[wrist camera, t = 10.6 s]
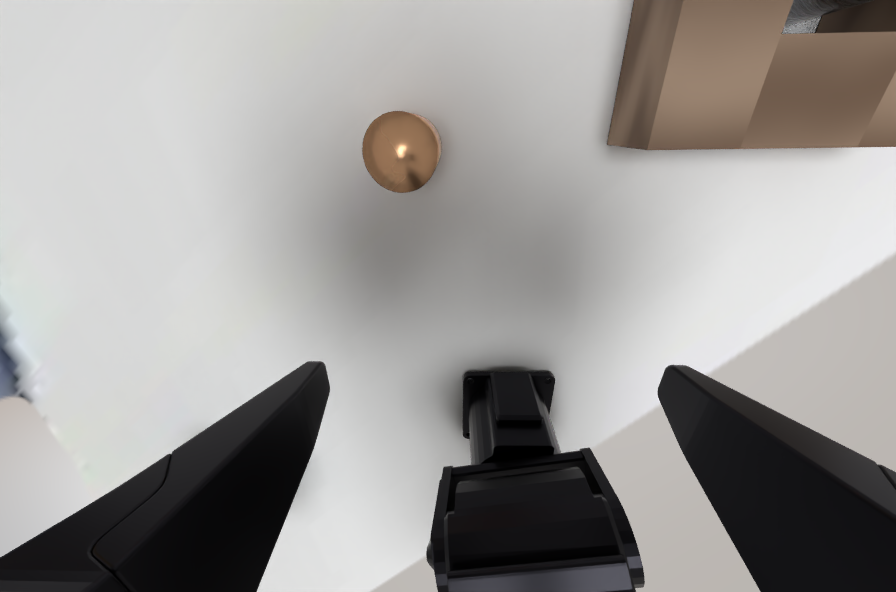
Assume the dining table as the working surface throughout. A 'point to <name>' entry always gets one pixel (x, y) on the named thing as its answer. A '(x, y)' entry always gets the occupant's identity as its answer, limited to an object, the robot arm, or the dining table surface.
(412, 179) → the short pin
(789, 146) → the hole block
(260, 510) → the robot arm
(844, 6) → the long pin
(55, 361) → the dining table surface
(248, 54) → the dining table surface
